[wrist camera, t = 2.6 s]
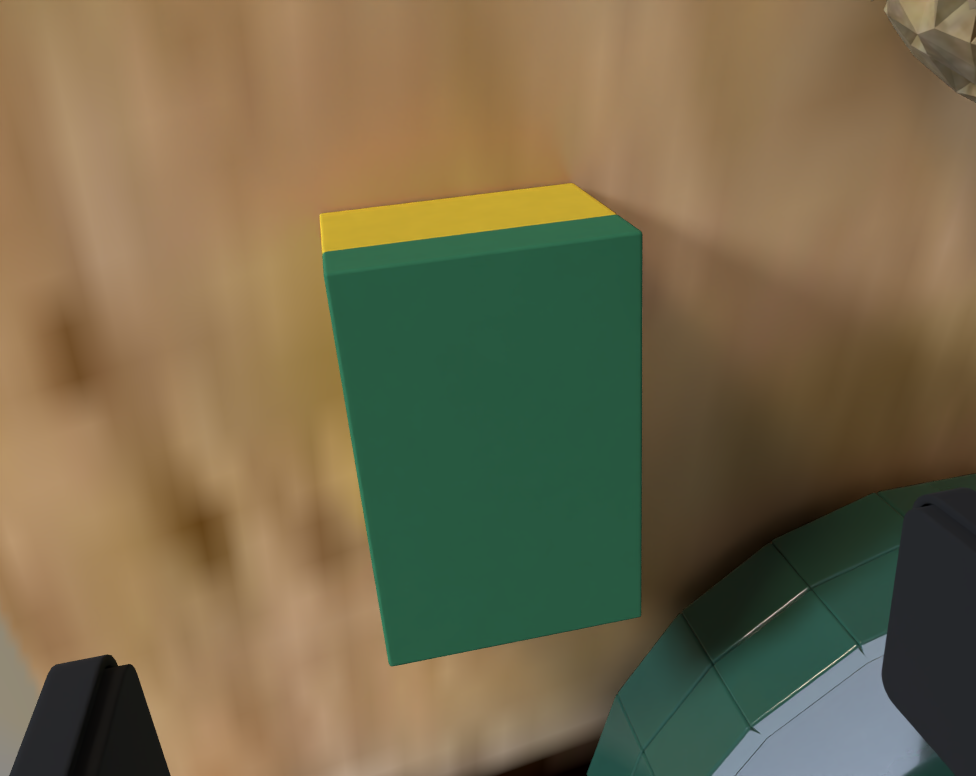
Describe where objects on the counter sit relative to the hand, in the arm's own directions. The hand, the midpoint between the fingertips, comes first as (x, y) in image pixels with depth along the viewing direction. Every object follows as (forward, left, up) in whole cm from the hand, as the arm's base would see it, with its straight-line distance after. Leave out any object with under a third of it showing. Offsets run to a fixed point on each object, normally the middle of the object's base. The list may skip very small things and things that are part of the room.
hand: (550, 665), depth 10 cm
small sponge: (-1, 0, -7) cm, 7 cm away
